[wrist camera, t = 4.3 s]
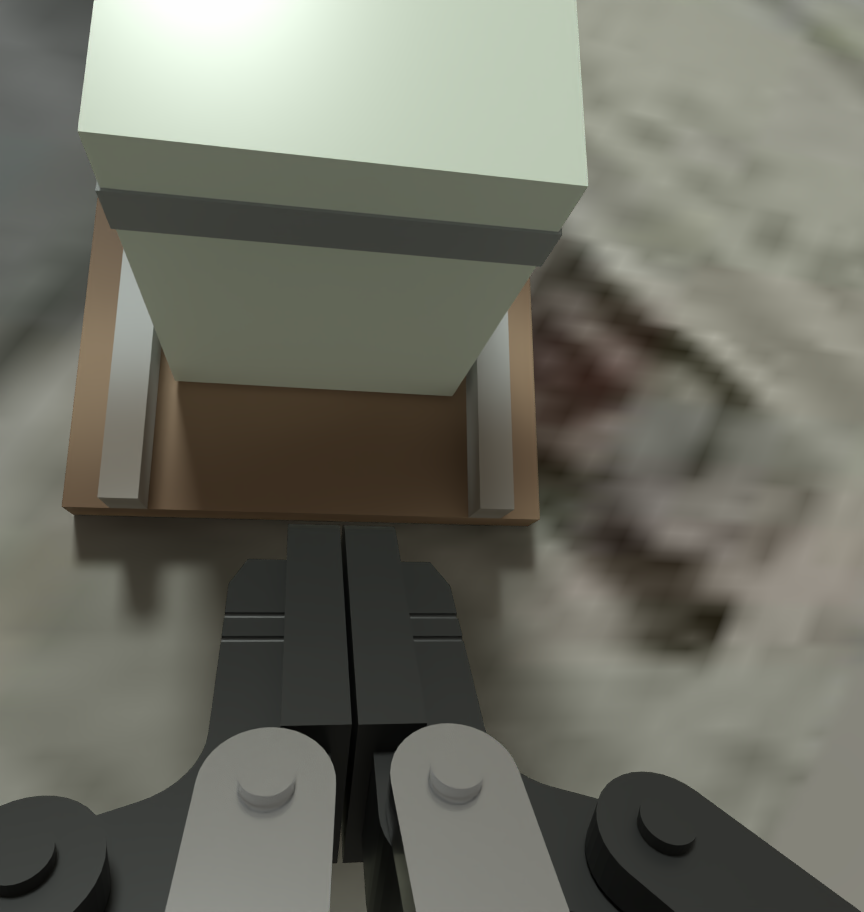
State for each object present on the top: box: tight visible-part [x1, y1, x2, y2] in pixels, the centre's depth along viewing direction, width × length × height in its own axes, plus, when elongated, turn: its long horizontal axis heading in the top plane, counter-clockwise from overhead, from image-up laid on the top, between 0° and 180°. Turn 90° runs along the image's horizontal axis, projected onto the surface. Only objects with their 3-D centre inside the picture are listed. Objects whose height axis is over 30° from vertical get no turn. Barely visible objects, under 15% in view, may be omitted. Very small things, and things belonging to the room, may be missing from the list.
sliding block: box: [78, 0, 588, 396], centre depth 15 cm, size 6×7×9 cm
